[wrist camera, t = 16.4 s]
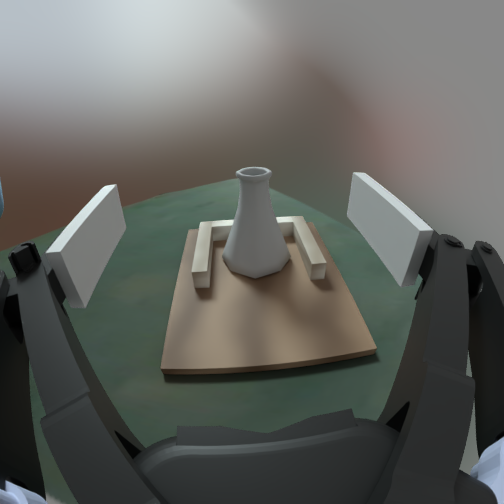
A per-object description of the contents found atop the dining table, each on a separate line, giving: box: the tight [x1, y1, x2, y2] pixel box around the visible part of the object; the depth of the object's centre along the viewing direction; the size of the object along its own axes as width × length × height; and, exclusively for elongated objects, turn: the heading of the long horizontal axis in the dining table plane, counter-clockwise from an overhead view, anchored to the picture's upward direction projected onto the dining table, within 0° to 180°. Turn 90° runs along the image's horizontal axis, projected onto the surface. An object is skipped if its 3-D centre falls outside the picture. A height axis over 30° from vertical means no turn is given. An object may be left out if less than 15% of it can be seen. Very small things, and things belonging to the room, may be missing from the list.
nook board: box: [160, 216, 377, 374], centre depth 28 cm, size 17×22×3 cm
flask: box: [222, 167, 291, 278], centre depth 28 cm, size 7×7×10 cm
